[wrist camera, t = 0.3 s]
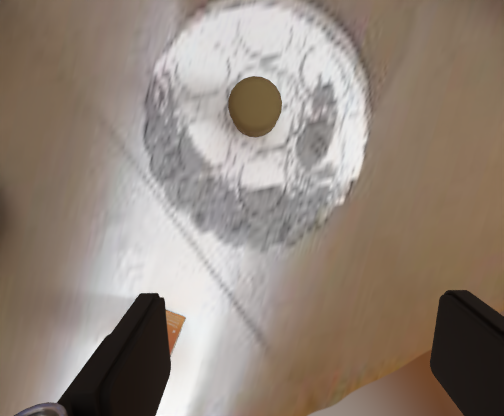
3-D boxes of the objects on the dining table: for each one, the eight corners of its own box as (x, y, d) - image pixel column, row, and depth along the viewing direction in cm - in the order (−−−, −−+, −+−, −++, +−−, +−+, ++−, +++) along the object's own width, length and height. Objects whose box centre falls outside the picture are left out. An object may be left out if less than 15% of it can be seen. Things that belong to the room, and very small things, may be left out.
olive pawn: (227, 131, 38) (216, 129, 28) (236, 82, 37) (229, 60, 26) (272, 141, 39) (279, 143, 28) (283, 93, 37) (295, 76, 26)
